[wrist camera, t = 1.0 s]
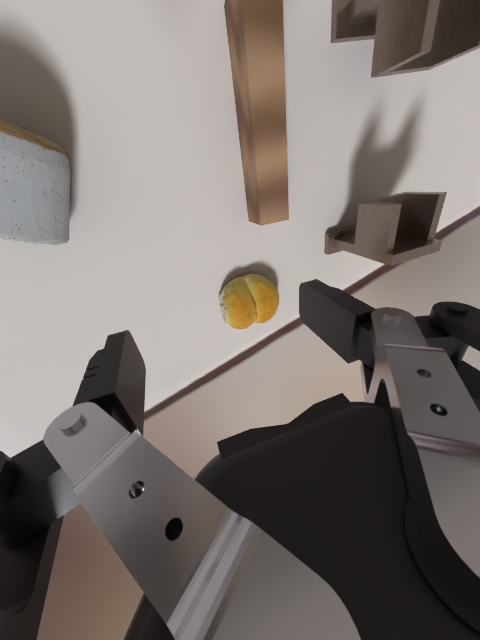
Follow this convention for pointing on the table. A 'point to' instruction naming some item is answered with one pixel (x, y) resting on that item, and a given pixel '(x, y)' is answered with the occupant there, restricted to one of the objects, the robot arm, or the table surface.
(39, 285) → the table surface
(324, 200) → the table surface
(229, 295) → the bread roll
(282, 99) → the rail
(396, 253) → the brackets
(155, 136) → the table surface
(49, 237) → the ceramic mug
